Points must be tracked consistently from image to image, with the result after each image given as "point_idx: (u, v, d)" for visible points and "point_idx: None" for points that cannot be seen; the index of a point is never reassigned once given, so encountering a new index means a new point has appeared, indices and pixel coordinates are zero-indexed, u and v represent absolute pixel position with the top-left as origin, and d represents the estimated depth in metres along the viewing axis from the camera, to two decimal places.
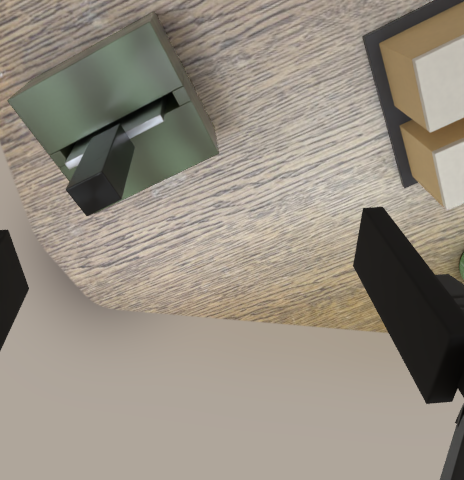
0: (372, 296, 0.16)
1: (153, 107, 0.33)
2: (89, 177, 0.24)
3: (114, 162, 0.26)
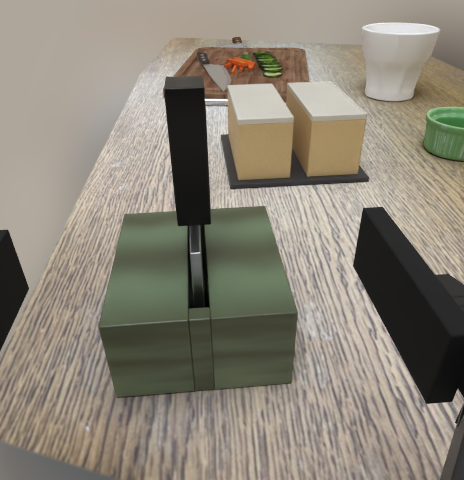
0: (372, 296, 0.16)
1: None
2: (165, 81, 0.23)
3: None
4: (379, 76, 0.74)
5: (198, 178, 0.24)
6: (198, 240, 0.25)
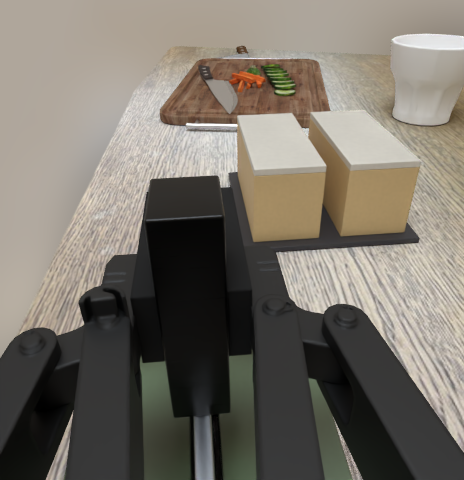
0: None
1: None
2: (148, 192, 0.12)
3: None
4: (412, 97, 0.64)
5: (210, 354, 0.13)
6: (210, 460, 0.14)
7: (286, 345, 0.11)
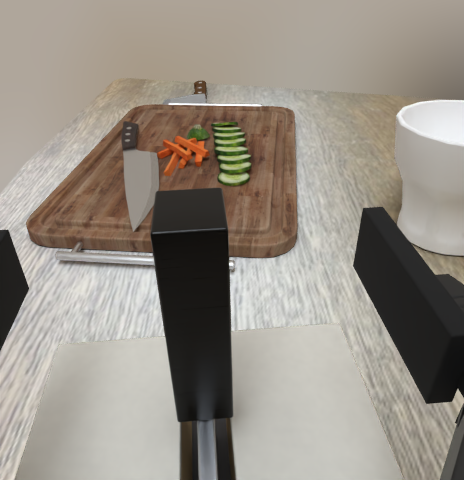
0: (372, 296, 0.16)
1: None
2: (154, 204, 0.12)
3: None
4: (430, 212, 0.38)
5: (214, 360, 0.14)
6: (213, 464, 0.14)
7: None
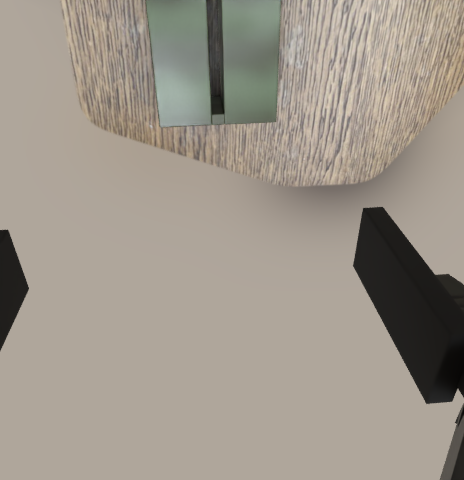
0: (372, 296, 0.16)
1: None
2: None
3: None
4: None
5: None
6: None
7: None
